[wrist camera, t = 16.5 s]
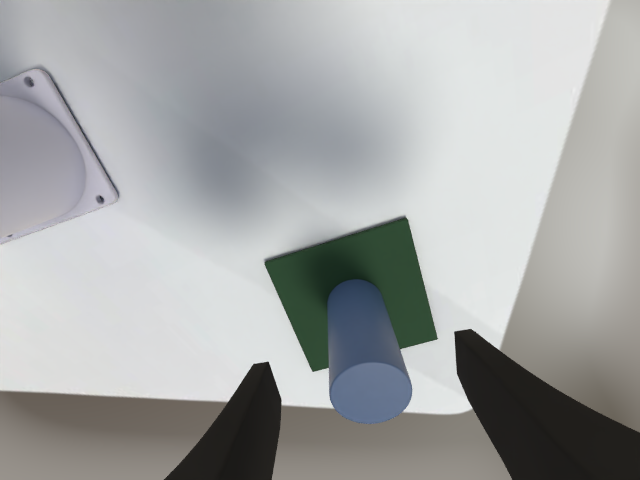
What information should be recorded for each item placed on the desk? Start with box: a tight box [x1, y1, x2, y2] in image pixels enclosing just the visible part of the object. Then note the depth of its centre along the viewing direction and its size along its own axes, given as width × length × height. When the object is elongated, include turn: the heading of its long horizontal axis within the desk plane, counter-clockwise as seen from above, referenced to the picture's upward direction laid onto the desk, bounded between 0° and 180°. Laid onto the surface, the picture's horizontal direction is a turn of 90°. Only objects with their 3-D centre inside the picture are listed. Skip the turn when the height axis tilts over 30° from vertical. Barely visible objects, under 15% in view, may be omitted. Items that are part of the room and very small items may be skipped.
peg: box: [327, 279, 412, 424], centre depth 19 cm, size 4×4×8 cm
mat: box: [265, 218, 438, 372], centre depth 23 cm, size 10×10×1 cm
